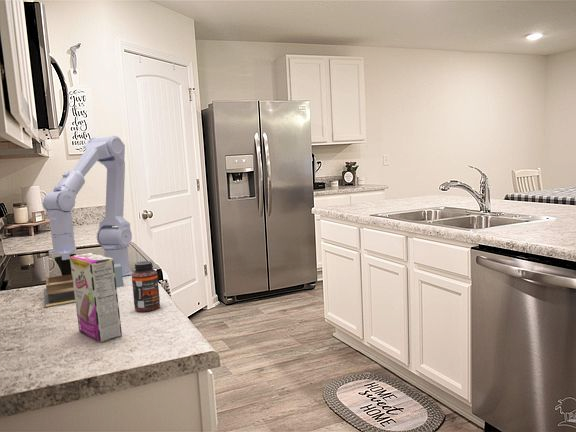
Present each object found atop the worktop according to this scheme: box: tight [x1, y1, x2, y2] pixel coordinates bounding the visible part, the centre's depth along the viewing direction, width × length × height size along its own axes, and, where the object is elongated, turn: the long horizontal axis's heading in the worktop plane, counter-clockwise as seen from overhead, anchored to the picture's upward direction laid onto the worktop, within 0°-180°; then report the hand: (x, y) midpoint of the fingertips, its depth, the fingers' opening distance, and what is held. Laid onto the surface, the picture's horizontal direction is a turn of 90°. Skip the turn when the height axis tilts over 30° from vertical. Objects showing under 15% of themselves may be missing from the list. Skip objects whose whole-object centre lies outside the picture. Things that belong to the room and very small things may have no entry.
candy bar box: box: [69, 252, 123, 343], centre depth 99 cm, size 11×5×16 cm, turn 44°
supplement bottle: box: [131, 260, 161, 313], centre depth 115 cm, size 6×6×11 cm
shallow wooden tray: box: [45, 274, 74, 302], centre depth 131 cm, size 11×11×5 cm
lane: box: [43, 288, 76, 309], centre depth 135 cm, size 22×13×1 cm, turn 27°
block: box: [114, 264, 125, 288], centre depth 141 cm, size 4×4×6 cm
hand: (68, 280), depth 137 cm, fingers closed
